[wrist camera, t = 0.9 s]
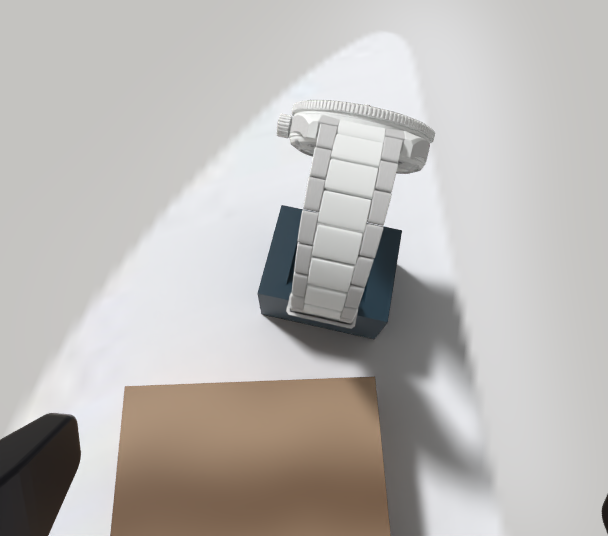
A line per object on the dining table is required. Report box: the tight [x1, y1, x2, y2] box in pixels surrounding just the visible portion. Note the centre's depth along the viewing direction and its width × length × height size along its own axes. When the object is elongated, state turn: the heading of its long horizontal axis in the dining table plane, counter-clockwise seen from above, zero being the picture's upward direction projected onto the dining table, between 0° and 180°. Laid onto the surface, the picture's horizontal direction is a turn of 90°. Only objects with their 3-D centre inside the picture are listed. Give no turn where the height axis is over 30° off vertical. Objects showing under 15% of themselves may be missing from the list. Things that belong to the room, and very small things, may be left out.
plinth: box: [110, 377, 391, 536], centre depth 18 cm, size 10×10×2 cm
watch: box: [258, 100, 435, 339], centre depth 18 cm, size 6×8×11 cm
